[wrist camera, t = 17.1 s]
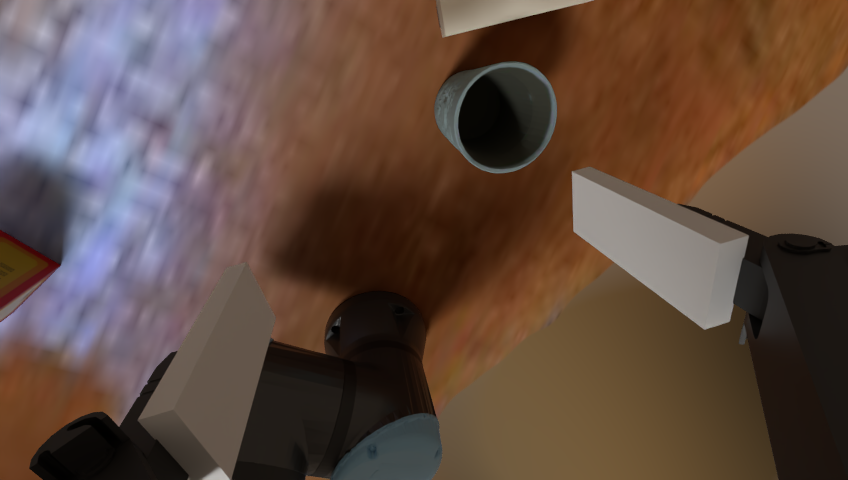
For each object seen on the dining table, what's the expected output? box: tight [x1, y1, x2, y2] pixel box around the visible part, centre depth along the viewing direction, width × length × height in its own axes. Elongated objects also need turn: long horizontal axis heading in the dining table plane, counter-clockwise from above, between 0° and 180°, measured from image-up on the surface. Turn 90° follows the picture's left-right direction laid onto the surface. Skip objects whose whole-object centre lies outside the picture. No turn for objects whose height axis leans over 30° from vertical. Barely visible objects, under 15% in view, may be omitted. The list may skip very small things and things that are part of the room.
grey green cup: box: [435, 61, 557, 173], centre depth 40 cm, size 10×10×12 cm
